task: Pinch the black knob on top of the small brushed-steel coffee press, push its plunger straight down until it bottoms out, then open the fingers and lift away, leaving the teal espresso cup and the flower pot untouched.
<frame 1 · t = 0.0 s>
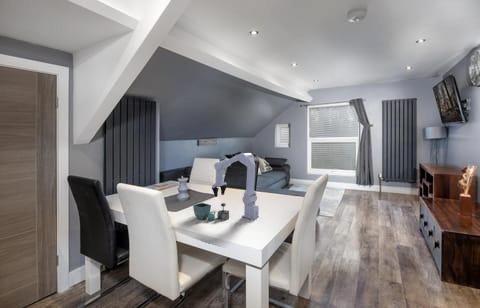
hand: (219, 195, 181), 10 cm above the table, fingers open, 7 cm apart
flower pot: (202, 218, 160), on the table
espresso cup: (211, 219, 157), on the table
plunger: (223, 208, 160), point 7 cm above the table, slide at 0.0 cm
press pot: (223, 218, 161), on the table
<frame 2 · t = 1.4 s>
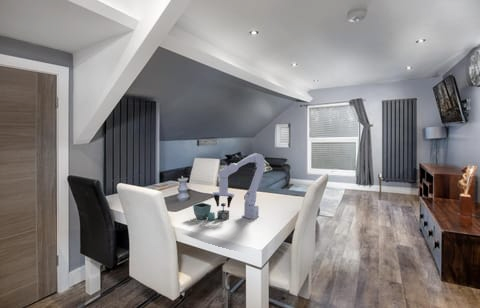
hand: (223, 206, 160), 8 cm above the table, fingers open, 7 cm apart
nothing on the table moved.
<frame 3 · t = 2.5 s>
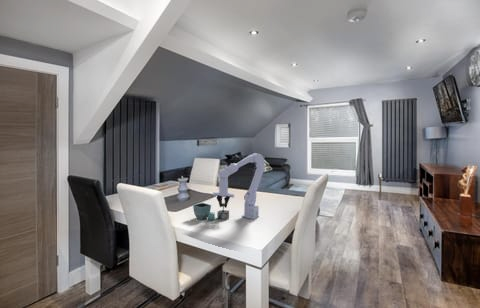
hand: (223, 207, 160), 7 cm above the table, fingers closed on plunger, 3 cm apart
plunger: (223, 208, 160), point 7 cm above the table, slide at 0.0 cm, touching gripper
everything else where it was.
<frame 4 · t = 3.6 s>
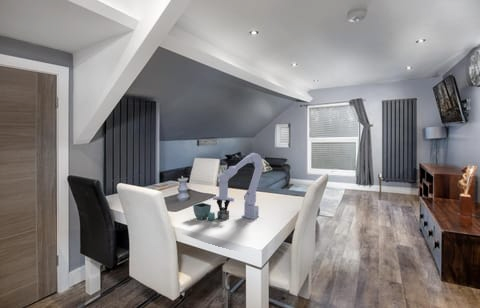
hand: (223, 211, 161), 5 cm above the table, fingers closed on plunger, 3 cm apart
plunger: (223, 212, 161), point 4 cm above the table, slide at 2.7 cm, touching gripper
everything else where it was.
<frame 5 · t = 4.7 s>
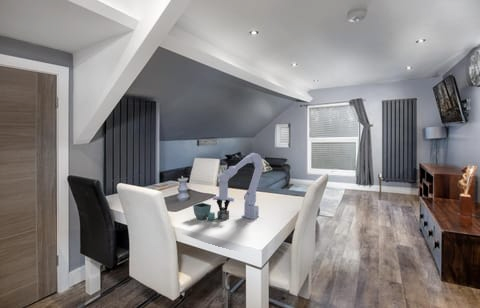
hand: (223, 211, 161), 5 cm above the table, fingers closed on plunger, 3 cm apart
plunger: (223, 212, 161), point 4 cm above the table, slide at 2.7 cm, touching gripper
everything else where it was.
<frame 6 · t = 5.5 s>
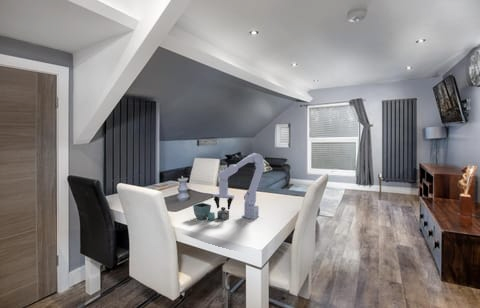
hand: (223, 208, 160), 6 cm above the table, fingers open, 7 cm apart
plunger: (223, 212, 161), point 4 cm above the table, slide at 2.7 cm
everything else where it was.
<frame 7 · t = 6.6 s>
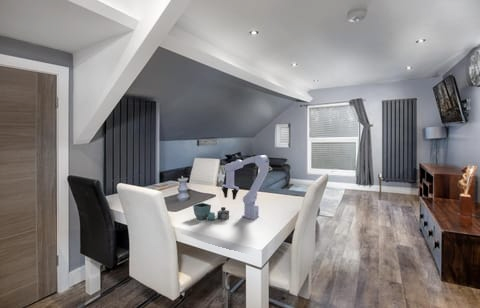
hand: (229, 198, 172), 10 cm above the table, fingers open, 7 cm apart
nothing on the table moved.
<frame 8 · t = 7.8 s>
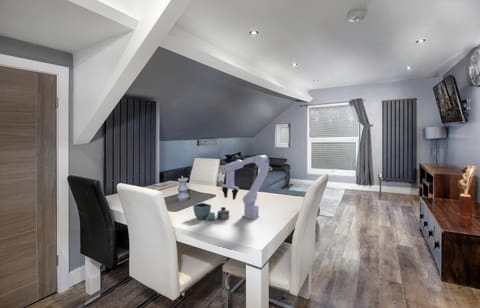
hand: (229, 198, 172), 10 cm above the table, fingers open, 7 cm apart
nothing on the table moved.
at the end: plunger slide at 2.7 cm; the gripper is holding nothing; espresso cup tilted 0° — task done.
